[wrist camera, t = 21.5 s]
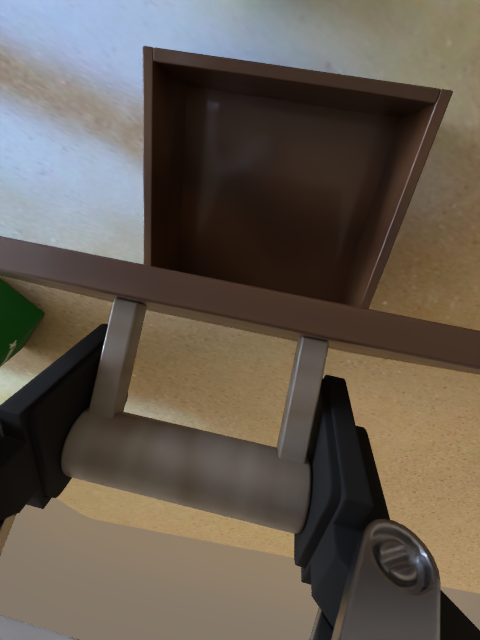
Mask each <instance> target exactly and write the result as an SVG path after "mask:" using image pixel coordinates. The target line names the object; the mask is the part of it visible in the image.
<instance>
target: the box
mask: <svg viewBox="0 0 480 640" xmlns="http://www.w3.org/2000/svg"><path fill="white" fill-rule="evenodd" d="M452 93H453V91H451V90H444V89H442V90H440V89H437V88H430V87H423V86H417V85H410V84H403V83H396V82H389V81H382V80H375V79H368V78H361V77H354V76H348V75H341V74H334V73H327V72H320V71H313V70H306V69H299V68H292V67H285V66H279V65H272V64H265V63H258V62H251V61H244V60H237V59H230V58H223V57H216V56H210V55H203V54H196V53H189V52H182V51H175V50H168V49H161V48H153V47H148V46H143V191H144V265H149V266H154V267H159V268H164V269H169V270H174V271H179V272H184V273H189V274H194V275H199V276H204V277H209V278H214V279H219V280H224V281H230V282H235V283H240V284H245V285H250V286H255V287H260V288H265V289H270V290H275V291H280V292H285V293H290V294H295V295H300V296H306V297H311V298H316V299H321V300H326V301H331V302H336V303H341V304H346V305H351V306H356V307H361V308H366V309H368V308H369V306H370V303H371V301H372V298H373V296H374V293H375V291H376V288H377V285H378V283H379V280H380V278H381V275H382V273H383V270H384V267H385V265H386V262H387V260H388V257H389V255H390V252H391V249H392V247H393V244H394V242H395V239H396V237H397V234H398V232H399V229H400V226H401V224H402V221H403V219H404V216H405V214H406V211H407V208H408V206H409V203H410V201H411V198H412V196H413V193H414V190H415V188H416V185H417V183H418V180H419V178H420V175H421V173H422V170H423V167H424V165H425V162H426V160H427V157H428V155H429V152H430V149H431V147H432V144H433V142H434V139H435V137H436V134H437V131H438V129H439V126H440V124H441V121H442V119H443V116H444V113H445V111H446V108H447V106H448V103H449V101H450V98H451V96H452Z"/></svg>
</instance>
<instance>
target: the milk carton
mask: <svg viewBox="0 0 480 640" xmlns="http://www.w3.org/2000/svg"><path fill="white" fill-rule="evenodd" d="M44 314H45V313H44V312H42V311H41V310H40V309H38V308H37V307H36V306H35V305H33V304H32V303H31V302H29V301H28V300H27V299H25V298H24V297H23V296H22V295H20V294H19V293H18V292H16V291H15V290H14V289H12V288H11V287H10V286H9V285H7V284H6V283H5V282H3V281H2V280H1V279H0V367H1V366H2V365H3V364H4V363H6V362H7V361H8V360H9V359H10V358H11V357H13V356H14V355H15V354H16V353H17V352H18V351H20V350H21V349H22V348H23V346H24V345H25V343H26V342H27V340H28V339H29V337H30V336H31V334H32V333H33V331H34V329H35V328H36V326H37V325H38V323H39V322H40V320H41V319H42V317H43V316H44Z"/></svg>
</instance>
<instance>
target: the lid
mask: <svg viewBox="0 0 480 640" xmlns="http://www.w3.org/2000/svg"><path fill="white" fill-rule="evenodd" d="M0 275H1V276H5V277H9V278H13V279H18V280H22V281H26V282H30V283H34V284H39V285H43V286H47V287H51V288H55V289H59V290H64V291H68V292H72V293H76V294H80V295H85V296H89V297H93V298H97V299H101V300H106V301H110V302H113V306H112V310H111V314H110V319H109V323H108V328H107V332H106V336H105V341H104V345H103V350H102V354H101V358H100V363H99V367H98V372H97V376H96V380H95V385H94V389H93V393H92V398H91V402H90V407H89V408H87V409H86V410H85V411H83V412H82V413H81V415H80V416H79V417H78V418H77V419H76V421H75V422H74V424H73V426H72V427H71V429H70V431H69V433H68V435H67V437H66V440H65V443H64V446H63V449H62V454H61V469H62V472H63V473H64V474H65V475H66V476H69V477H73V478H77V479H81V480H84V481H88V482H92V483H96V484H100V485H104V486H108V487H112V488H116V489H120V490H124V491H128V492H132V493H136V494H140V495H144V496H148V497H152V498H156V499H160V500H164V501H167V502H171V503H175V504H179V505H183V506H187V507H191V508H195V509H199V510H203V511H207V512H211V513H215V514H219V515H223V516H227V517H231V518H235V519H239V520H243V521H247V522H250V523H254V524H258V525H262V526H266V527H270V528H274V529H278V530H282V531H286V532H290V533H294V534H298V533H301V531H302V530H303V528H304V525H305V523H306V519H307V516H308V511H309V505H310V498H311V486H312V473H311V464H310V460H309V457H308V456H307V454H308V449H309V444H310V438H311V433H312V428H313V423H314V418H315V413H316V408H317V403H318V398H319V392H320V387H321V382H322V377H323V372H324V367H325V362H326V357H327V352H328V348H331V349H336V350H341V351H345V352H350V353H355V354H361V355H367V356H373V357H379V358H384V359H390V360H396V361H402V362H408V363H414V364H419V365H425V366H431V367H437V368H443V369H449V370H455V371H460V372H466V373H472V374H478V375H480V331H478V330H473V329H468V328H462V327H457V326H452V325H447V324H442V323H437V322H432V321H427V320H422V319H417V318H412V317H407V316H402V315H397V314H392V313H387V312H381V311H376V310H371V309H366V308H361V307H356V306H351V305H346V304H341V303H336V302H331V301H326V300H321V299H316V298H311V297H306V296H300V295H295V294H290V293H285V292H280V291H275V290H270V289H265V288H260V287H255V286H250V285H245V284H240V283H235V282H230V281H224V280H219V279H214V278H209V277H204V276H199V275H194V274H189V273H184V272H179V271H174V270H169V269H164V268H159V267H154V266H149V265H143V264H138V263H133V262H128V261H123V260H118V259H113V258H108V257H103V256H98V255H93V254H88V253H83V252H78V251H73V250H68V249H62V248H57V247H52V246H47V245H42V244H37V243H32V242H27V241H22V240H17V239H12V238H7V237H2V236H0ZM146 310H149V311H153V312H158V313H163V314H168V315H173V316H177V317H182V318H187V319H192V320H197V321H201V322H206V323H211V324H216V325H221V326H225V327H230V328H235V329H240V330H245V331H249V332H254V333H259V334H264V335H269V336H273V337H278V338H283V339H288V340H293V341H297V342H298V343H297V348H296V353H295V358H294V363H293V368H292V373H291V378H290V383H289V388H288V393H287V398H286V403H285V408H284V413H283V418H282V423H281V428H280V433H279V438H278V443H277V448H276V447H272V446H267V445H263V444H259V443H255V442H250V441H246V440H242V439H237V438H233V437H229V436H225V435H220V434H216V433H212V432H208V431H203V430H199V429H195V428H190V427H186V426H182V425H178V424H173V423H169V422H165V421H161V420H156V419H152V418H148V417H143V416H139V415H135V414H131V413H126V412H123V411H124V407H125V402H126V398H127V393H128V389H129V384H130V380H131V375H132V371H133V366H134V362H135V357H136V353H137V348H138V344H139V339H140V335H141V330H142V326H143V321H144V317H145V312H146Z"/></svg>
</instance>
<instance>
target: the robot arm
mask: <svg viewBox="0 0 480 640" xmlns="http://www.w3.org/2000/svg"><path fill="white" fill-rule="evenodd" d="M107 328H108V325H107V324H101V325H100V326H98V327H97V328H96V329H95V330H93V331H92V332H91V333H90V334H89V335H87V336H86V337H85V338H84V339H82V340H81V341H80V342H79V343H77V344H76V345H75V346H74V347H72V348H71V349H70V350H69V351H67V352H66V353H65V354H64V355H62V356H61V357H60V358H59V359H57V360H56V361H55V362H54V363H52V364H51V365H50V366H49V367H47V368H46V369H45V370H44V371H42V372H41V373H40V374H39V375H37V376H36V377H35V378H34V379H32V380H31V381H30V382H29V383H28V384H26V385H25V386H24V387H23V388H21V389H20V390H19V391H18V392H16V393H15V394H14V395H13V396H11V397H10V398H9V399H8V400H6V401H5V402H4V403H3V404H1V405H0V555H1V553H2V550H3V547H4V545H5V542H6V540H7V537H8V534H9V532H10V529H11V527H12V524H13V522H14V519H15V516H16V514H17V513H19V512H20V511H21V510H22V509H23V507H24V506H25V505H26V504H27V505H31V506H34V507H38V508H41V509H44V507H45V506H46V505H47V503H48V502H49V501H50V499H51V498H52V497H53V498H56V497H58V496H59V495H60V494H61V492H62V491H63V490H64V488H65V487H66V486H67V484H68V483H69V481H70V480H71V479H72V477H69V476H66V475H65V474H64V473H63V472H62V469H61V454H62V449H63V446H64V443H65V440H66V437H67V435H68V433H69V431H70V429H71V427H72V426H73V424H74V422H75V421H76V419H77V418H78V417H79V416H80V415H81V413H82V412H83V411H85V410H86V409H87V408H89V407H90V402H91V398H92V393H93V389H94V385H95V380H96V376H97V372H98V367H99V363H100V358H101V354H102V350H103V345H104V341H105V336H106V332H107ZM127 397H128V393H127ZM126 401H127V398H126ZM125 403H126V402H125ZM307 456H308V457H309V460H310V464H311V473H312V486H311V498H310V505H309V511H308V516H307V519H306V523H305V525H304V528H303V530H302V531H301V533H298V534H295V542H294V560H295V565H297V566H300V567H302V568H301V570H302V571H301V573H302V575H301V576H302V577H301V578H302V582H303V583H307V584H311V585H312V586H311V588H312V597H313V598H314V600H315V601H316V603H317V604H318V606H319V608H318V612H317V615H316V618H315V621H314V625H313V628H312V632H311V635H310V638H309V640H480V631H479V629H478V628H477V627H476V626H475V625H474V624H473V623H472V622H471V621H470V620H469V619H468V618H467V617H466V616H465V615H464V614H463V613H462V612H461V611H460V609H459V608H458V607H457V606H456V605H455V604H454V603H453V602H452V601H451V600H450V599H449V598H448V597H447V596H446V595H445V594H444V593H443V592H442V591H441V590H440V577H439V570H438V568H437V565H436V563H435V560H434V558H433V556H432V554H431V553H430V551H429V550H428V548H427V547H426V545H425V544H424V543H423V542H422V541H421V540H420V539H419V538H418V537H417V536H416V534H414V533H413V532H412V531H410V530H409V529H408V528H406V527H405V526H404V525H402V524H399V523H397V522H395V521H393V520H390V518H389V514H388V510H387V506H386V502H385V499H384V495H383V491H382V487H381V483H380V480H379V476H378V472H377V468H376V464H375V461H374V457H373V453H372V449H371V445H370V442H369V438H368V434H367V432H366V430H365V428H363V427H359V426H355V421H354V417H353V412H352V408H351V404H350V399H349V395H348V390H347V386H346V381H345V379H343V378H339V377H334V376H330V375H325V377H324V379H322V382H321V387H320V392H319V398H318V403H317V408H316V413H315V418H314V423H313V428H312V433H311V438H310V444H309V449H308V454H307ZM0 640H79V639H76V638H73V637H70V636H66V635H63V634H60V633H57V632H54V631H50V630H47V629H44V628H41V627H38V626H34V625H31V624H28V623H25V622H22V621H18V620H15V619H12V618H8V617H6V616H3V615H0Z"/></svg>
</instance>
